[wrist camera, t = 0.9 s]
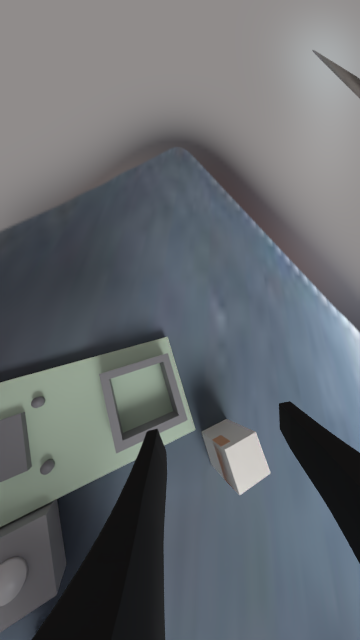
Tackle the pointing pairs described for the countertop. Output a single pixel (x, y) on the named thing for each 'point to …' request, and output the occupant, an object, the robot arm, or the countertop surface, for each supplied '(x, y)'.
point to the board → (84, 422)
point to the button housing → (30, 562)
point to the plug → (236, 454)
